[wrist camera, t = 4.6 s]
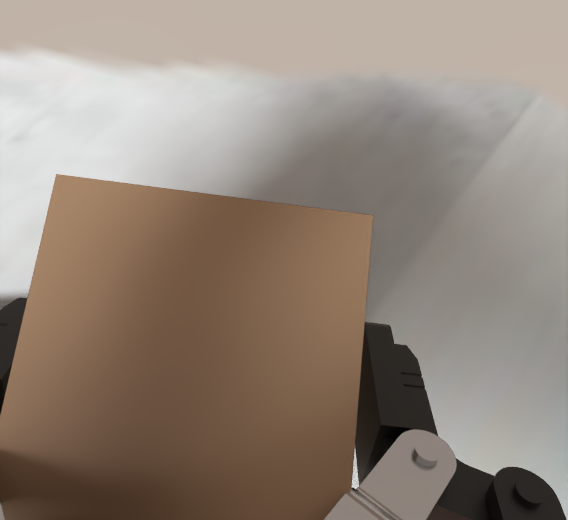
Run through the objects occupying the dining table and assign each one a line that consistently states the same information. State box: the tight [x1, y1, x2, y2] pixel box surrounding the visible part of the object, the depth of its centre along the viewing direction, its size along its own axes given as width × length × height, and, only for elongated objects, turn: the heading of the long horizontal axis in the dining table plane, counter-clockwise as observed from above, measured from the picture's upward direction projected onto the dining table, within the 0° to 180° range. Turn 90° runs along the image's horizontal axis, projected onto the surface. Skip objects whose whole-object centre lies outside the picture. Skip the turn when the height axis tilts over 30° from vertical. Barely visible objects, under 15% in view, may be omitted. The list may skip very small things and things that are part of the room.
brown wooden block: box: [0, 174, 373, 520], centre depth 14 cm, size 6×6×10 cm
